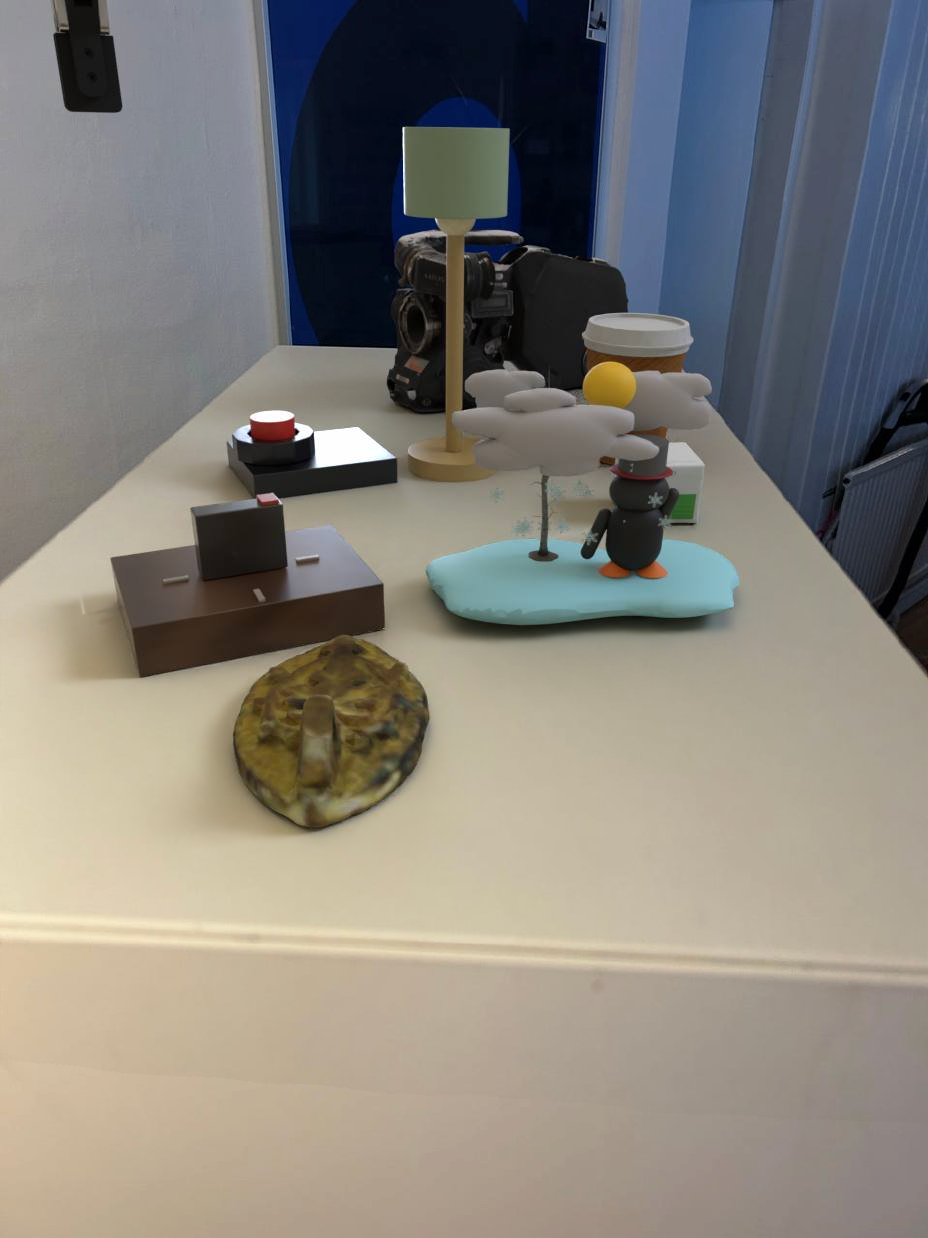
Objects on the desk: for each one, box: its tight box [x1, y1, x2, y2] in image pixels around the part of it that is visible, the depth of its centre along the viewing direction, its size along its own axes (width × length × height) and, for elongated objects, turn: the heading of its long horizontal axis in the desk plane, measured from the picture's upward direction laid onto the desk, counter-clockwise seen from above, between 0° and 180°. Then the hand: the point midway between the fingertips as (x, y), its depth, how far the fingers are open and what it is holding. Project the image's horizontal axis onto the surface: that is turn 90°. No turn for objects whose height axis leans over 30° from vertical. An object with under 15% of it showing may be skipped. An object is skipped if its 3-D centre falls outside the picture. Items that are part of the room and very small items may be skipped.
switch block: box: [226, 422, 398, 500], centre depth 79 cm, size 12×10×4 cm
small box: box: [613, 441, 706, 524], centre depth 72 cm, size 6×6×5 cm
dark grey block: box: [189, 493, 288, 581], centre depth 54 cm, size 5×2×4 cm, turn 114°
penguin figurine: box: [424, 362, 741, 626], centre depth 56 cm, size 20×11×15 cm, turn 93°
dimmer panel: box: [109, 524, 386, 678], centre depth 56 cm, size 14×10×3 cm
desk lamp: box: [402, 126, 511, 483], centre depth 76 cm, size 8×8×26 cm
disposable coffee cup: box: [582, 312, 694, 466], centre depth 83 cm, size 10×10×12 cm
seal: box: [232, 635, 431, 828], centre depth 45 cm, size 9×5×15 cm
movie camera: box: [386, 228, 629, 413], centre depth 101 cm, size 31×18×18 cm, turn 120°
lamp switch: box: [249, 410, 296, 440], centre depth 77 cm, size 4×4×2 cm
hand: (94, 111), depth 57 cm, fingers closed
